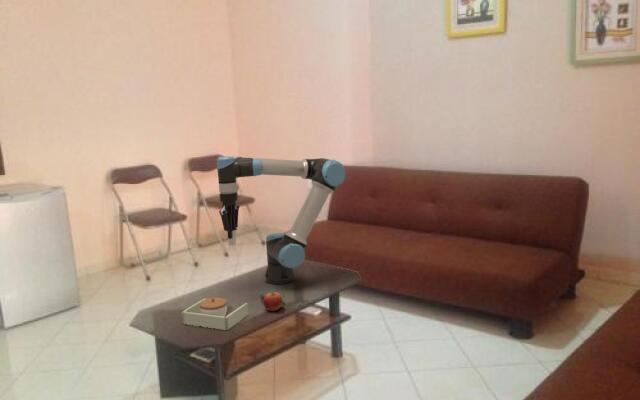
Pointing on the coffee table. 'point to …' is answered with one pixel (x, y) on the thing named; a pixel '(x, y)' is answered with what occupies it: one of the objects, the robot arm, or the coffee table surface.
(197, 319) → the bin
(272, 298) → the apple
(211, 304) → the lidded jar
